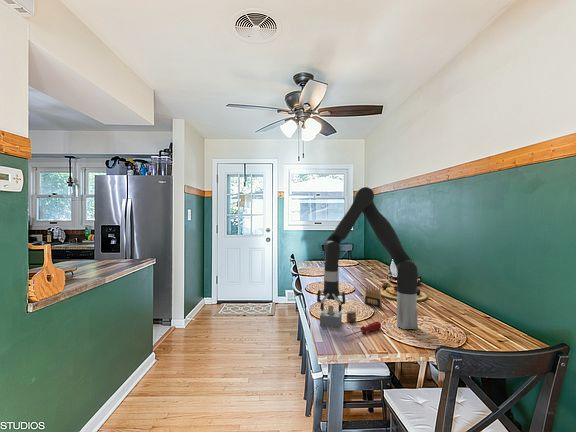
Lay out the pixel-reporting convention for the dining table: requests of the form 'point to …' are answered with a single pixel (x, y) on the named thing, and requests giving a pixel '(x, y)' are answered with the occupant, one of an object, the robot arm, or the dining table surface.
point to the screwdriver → (368, 328)
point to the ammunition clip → (373, 297)
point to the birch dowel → (330, 309)
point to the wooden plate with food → (392, 292)
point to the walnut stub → (351, 316)
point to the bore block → (330, 319)
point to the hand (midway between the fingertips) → (331, 311)
